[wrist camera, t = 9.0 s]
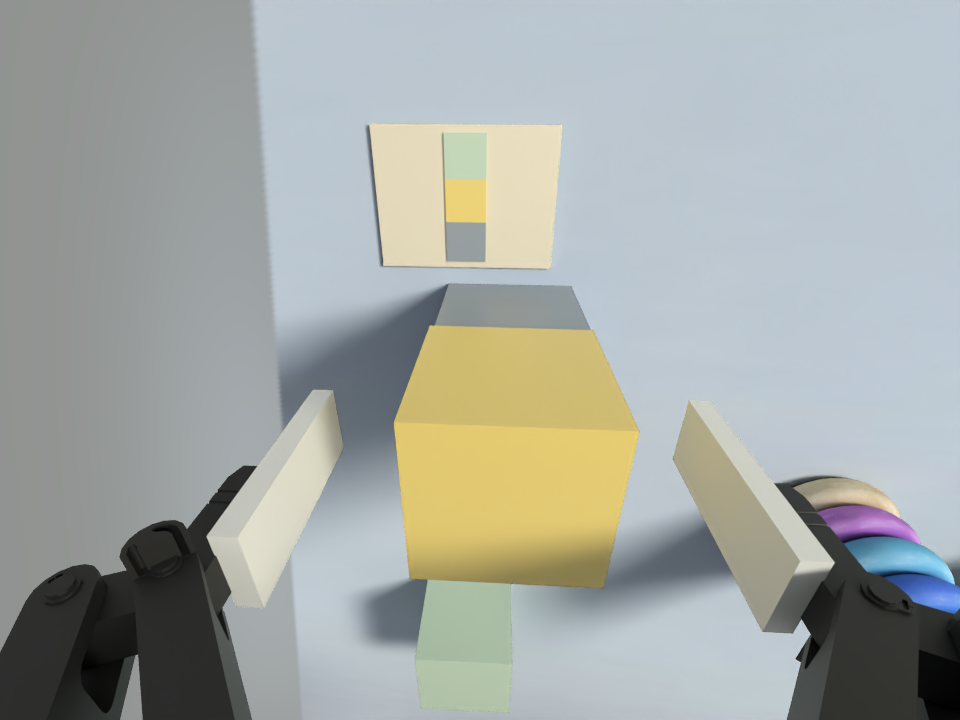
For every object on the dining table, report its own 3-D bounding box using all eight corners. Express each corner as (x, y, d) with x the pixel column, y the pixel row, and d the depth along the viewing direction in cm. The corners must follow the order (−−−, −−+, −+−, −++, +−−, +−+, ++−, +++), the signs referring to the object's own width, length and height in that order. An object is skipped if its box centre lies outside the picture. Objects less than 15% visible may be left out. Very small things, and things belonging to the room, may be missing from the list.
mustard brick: (574, 457, 19) (603, 588, 13) (435, 452, 19) (409, 579, 13) (593, 330, 16) (639, 431, 10) (429, 325, 16) (393, 422, 11)
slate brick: (559, 389, 24) (575, 463, 19) (452, 386, 24) (438, 458, 19) (571, 285, 21) (594, 337, 16) (449, 283, 21) (431, 333, 16)
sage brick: (507, 623, 34) (508, 713, 29) (432, 620, 35) (420, 708, 29) (510, 575, 32) (512, 664, 26) (429, 571, 32) (414, 659, 27)
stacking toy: (900, 526, 28) (1496, 1119, 11) (776, 574, 30) (1106, 1110, 14) (856, 450, 25) (1552, 1080, 8) (724, 510, 28) (1056, 1078, 11)
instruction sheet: (550, 267, 21) (550, 269, 20) (384, 264, 21) (383, 266, 21) (562, 125, 18) (562, 125, 18) (370, 124, 18) (368, 123, 18)
